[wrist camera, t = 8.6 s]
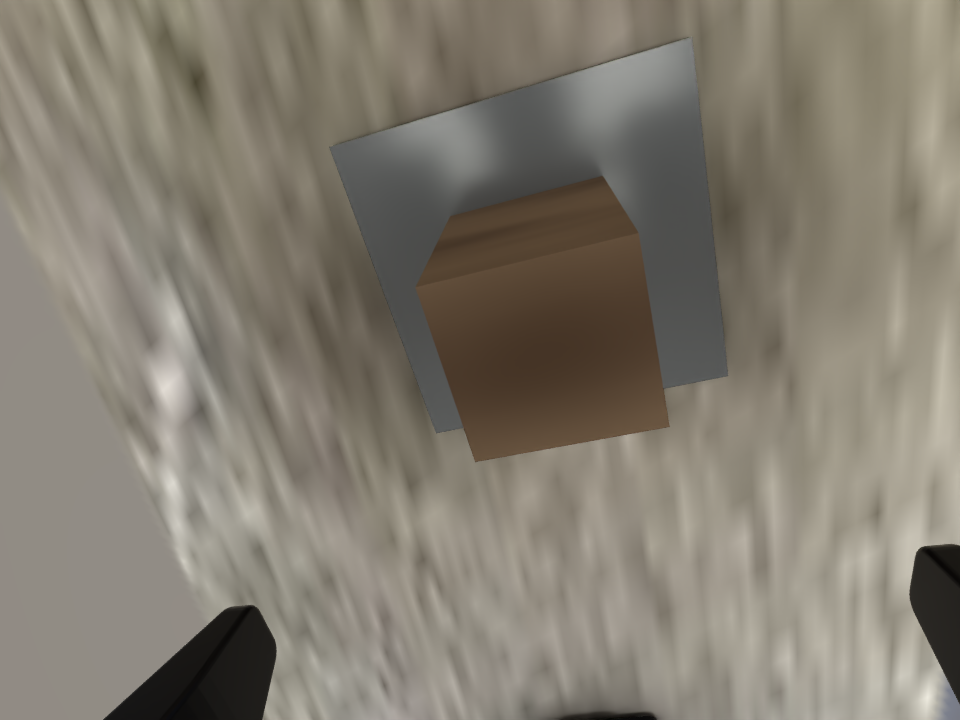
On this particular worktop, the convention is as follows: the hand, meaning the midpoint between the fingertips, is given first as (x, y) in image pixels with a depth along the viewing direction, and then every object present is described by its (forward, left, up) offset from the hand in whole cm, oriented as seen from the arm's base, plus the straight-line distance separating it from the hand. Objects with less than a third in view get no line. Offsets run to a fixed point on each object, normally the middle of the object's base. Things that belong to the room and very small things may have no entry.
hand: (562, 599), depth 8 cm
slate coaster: (+1, 0, -12) cm, 12 cm away
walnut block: (+1, 0, -11) cm, 11 cm away
